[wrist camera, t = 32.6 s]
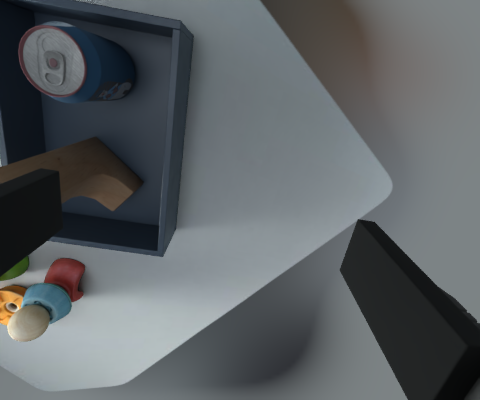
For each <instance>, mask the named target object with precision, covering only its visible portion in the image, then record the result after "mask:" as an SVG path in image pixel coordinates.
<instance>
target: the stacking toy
mask: <svg viewBox="0 0 480 400" xmlns="http://www.w3.org/2000/svg"><path fill="white" fill-rule="evenodd" d="M28 265H29V259H28V256H27V257H25V258H24V259H23V260H22V261H20V262H19V263H18V264H16V265H15V266H14V267H12V268H11V269H10V270H9V271H7V272H6V273H5V274H3V275H2V276H1V277H0V281H4V280H9V279H12V278H15V277H18V276H20V275H21V274H23V273H24V272H25V271H26V270H27V268H28ZM84 270H85V266H84V265H83V264H82V263H80V262H79V261H76V260H73V259H67V258H62V259H57V260H55V261H54V262H53V264H52V265H51V266H50V268H49V270H48V272H47V275H46V277H45V281H44V283H38V284H34V285H32V286H30V287H29V288H28V289H26V288H23V287H20V286H13V285H12V286H6V287H4V288H2V289H0V323H1V324H4V325H6V326H8V333H9V335H10V336H11V337H12V338H13V339H14V340H16V341H20V342H27V341H31V340H34V339H36V338H38V337H39V336H41V335H42V334H43V333H44V332H45V331H46V329H47V327H48V325H49V324H52V323H54V322H56V321H57V320H59V319H61V318H63V317H64V316H66V315H67V314H68V313H69V312H70V311H71V307H72V303H71V302H74V301H77V300H79V299H80V298H81V297H82V296H83V292H82V291H78V284H79V281H80V278H81V276H82V275H83V273H84ZM15 304H16V305H15Z"/></svg>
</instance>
